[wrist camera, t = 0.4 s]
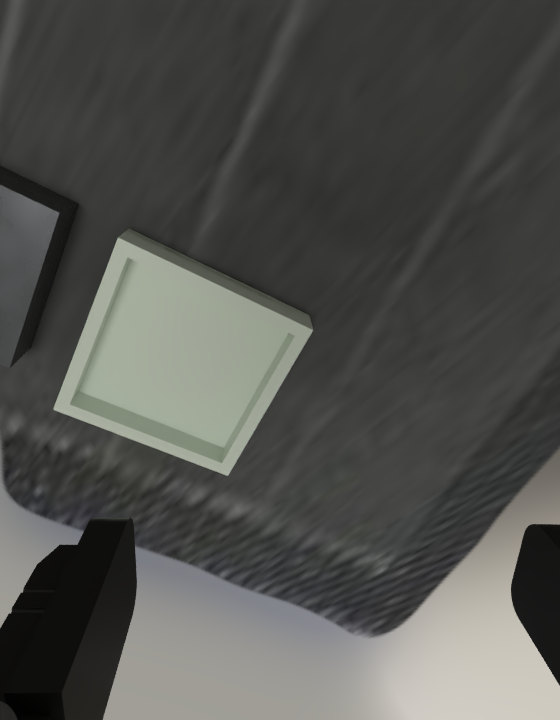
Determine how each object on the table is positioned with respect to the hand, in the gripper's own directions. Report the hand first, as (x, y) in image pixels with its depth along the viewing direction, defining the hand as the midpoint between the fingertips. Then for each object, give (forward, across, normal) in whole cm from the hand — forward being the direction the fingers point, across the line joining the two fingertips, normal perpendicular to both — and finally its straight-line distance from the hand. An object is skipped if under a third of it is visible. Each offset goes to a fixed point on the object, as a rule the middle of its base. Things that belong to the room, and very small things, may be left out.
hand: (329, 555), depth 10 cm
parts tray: (+23, +6, +4) cm, 24 cm away
